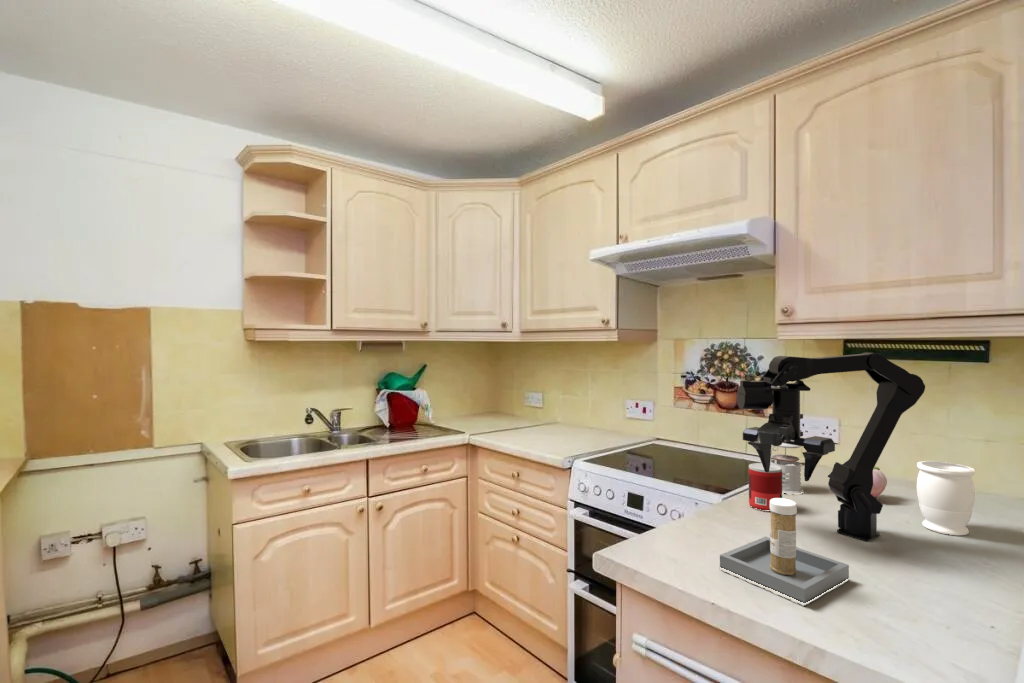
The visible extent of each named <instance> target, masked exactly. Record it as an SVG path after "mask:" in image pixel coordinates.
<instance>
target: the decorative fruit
mask: <svg viewBox="0 0 1024 683" xmlns="http://www.w3.org/2000/svg"><path fill="white" fill-rule="evenodd" d="M880 469H881V468H880V467H878V466H876V465H875V467H874V469H873V488H872V491H871V495H873V496H874V497H875V498H876V497H877V496H880V495H881V494H882V493H883V492H884V491H885V489H886V487H887V485H888V479H887V477H886V475H885V474H884V473H883V472H882V471H881V470H880Z"/></svg>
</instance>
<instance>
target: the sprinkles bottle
mask: <svg viewBox="0 0 1024 683" xmlns="http://www.w3.org/2000/svg"><path fill="white" fill-rule="evenodd" d="M797 506H798V504H797V503H796V501H794V500H791V499H788V498H784V497H782V498H773V499H771V500H770V510H771V511H770V512H769V513H770V531H769V532H770V535H769V536H770V537H769V538H770V551H771V564H770V568H771V570H773V571H774V572H776V573H778V574H783V575H794V574H796V547H797V526H796V523H797V514H798V507H797Z"/></svg>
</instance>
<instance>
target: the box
mask: <svg viewBox="0 0 1024 683" xmlns="http://www.w3.org/2000/svg"><path fill="white" fill-rule="evenodd" d="M770 564H771V551H770V537H768V536H764V537H761V538H758V539H757V540H754V541H751V542H749V543H746V544H744V545H740V546H738V547H735V548H734V549H731V550H729V551H727V552H724V553H721V554H720V555H719V568H720V567H721V568H724V569H726V570H729V571H731V572H733V573H735V574H738V575H740V576H742V577H744V578H746V579H749V580H751V581H754V582H756V583H758V584H761V585H763V586H765V587H768V588H771V589H773V590H775V591H778V592H780V593H782V594H785V595H787V596H789V597H792V598H794V599H796V600H798V601H800V602H803V603H806V602H808V601H810V600H812V599H814V598H815V597H817V596H819V595H821V594H822V593H824V592H826V591H827V590H829V589H831V588H833V587H834V586H836V585H838V584H840V583H842V582H843V581H845V580H846V579H848V578H849V579H850V577H849V576H850V575H849V574H850V570H849V569H850V565H849V564H847V563H844V562H843V561H842V562H841V561H839V560H835V559H832V558H829V557H827V556H824V555H821V554H818V553H815V552H812V551H809V550H805V549H803V548H800V547H798V546H796V574H794V575H783V574H778V573H776V572H774V571H773V570H771V568H770Z"/></svg>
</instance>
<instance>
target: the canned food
mask: <svg viewBox="0 0 1024 683" xmlns="http://www.w3.org/2000/svg"><path fill="white" fill-rule="evenodd" d="M773 498H783V494H782V468H781V467H779V466H777V465H772V464H771V463H770V469H769V472H765V470H764V468H763V465H762V462H757V463H756V462H755V463H750V464H748V504H749V506H750V507H751V506H752V507H754V508H757V509H761V510H770V500H771V499H773ZM752 507H751V508H752ZM754 508H753V509H754Z"/></svg>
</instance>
